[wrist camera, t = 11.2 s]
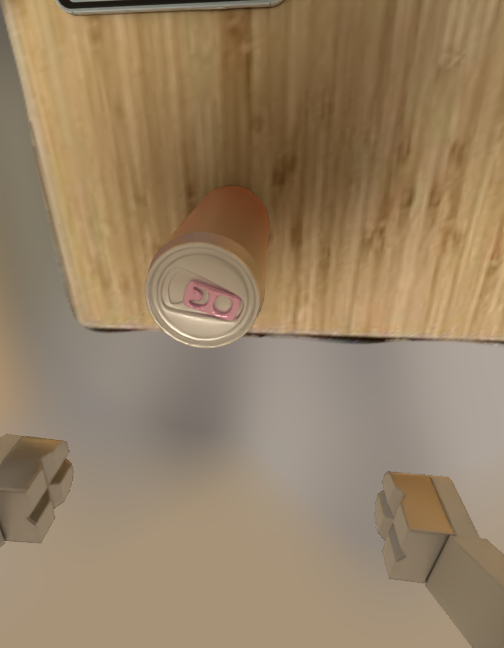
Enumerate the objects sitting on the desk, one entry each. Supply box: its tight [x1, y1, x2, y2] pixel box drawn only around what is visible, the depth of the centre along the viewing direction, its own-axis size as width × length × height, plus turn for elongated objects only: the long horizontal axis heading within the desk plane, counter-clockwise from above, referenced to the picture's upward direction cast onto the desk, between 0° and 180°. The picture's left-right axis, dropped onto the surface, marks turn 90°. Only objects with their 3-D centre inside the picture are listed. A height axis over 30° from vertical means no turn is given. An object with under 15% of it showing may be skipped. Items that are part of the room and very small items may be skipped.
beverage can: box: [145, 186, 269, 348], centre depth 25 cm, size 6×6×15 cm
